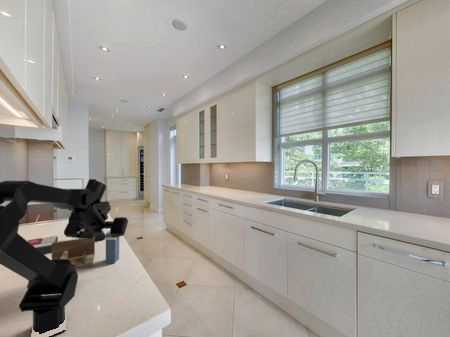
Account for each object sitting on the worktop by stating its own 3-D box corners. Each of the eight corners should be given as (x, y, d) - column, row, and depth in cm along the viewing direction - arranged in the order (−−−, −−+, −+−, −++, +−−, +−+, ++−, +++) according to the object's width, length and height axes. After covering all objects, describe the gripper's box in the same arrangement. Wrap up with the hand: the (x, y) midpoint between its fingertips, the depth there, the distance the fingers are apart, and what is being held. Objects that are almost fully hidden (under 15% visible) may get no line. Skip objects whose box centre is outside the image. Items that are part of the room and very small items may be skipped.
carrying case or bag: (78, 236, 106) (81, 245, 95) (78, 231, 106) (81, 239, 95) (101, 232, 113) (106, 240, 102) (101, 227, 113) (106, 234, 102)
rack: (92, 266, 76) (92, 245, 76) (44, 275, 69) (44, 253, 69) (94, 254, 85) (94, 236, 85) (52, 261, 78) (52, 242, 78)
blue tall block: (114, 263, 78) (115, 233, 78) (105, 263, 78) (105, 233, 78) (119, 258, 82) (119, 230, 82) (110, 258, 82) (110, 230, 82)
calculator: (57, 234, 99) (54, 243, 87) (57, 243, 99) (54, 253, 87) (27, 239, 92) (19, 249, 80) (27, 248, 92) (19, 259, 80)
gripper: (126, 195, 69) (136, 217, 81) (69, 195, 67) (88, 218, 79) (116, 224, 62) (129, 244, 73) (51, 225, 60) (75, 245, 71)
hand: (105, 237), depth 74 cm, fingers open, 9 cm apart
